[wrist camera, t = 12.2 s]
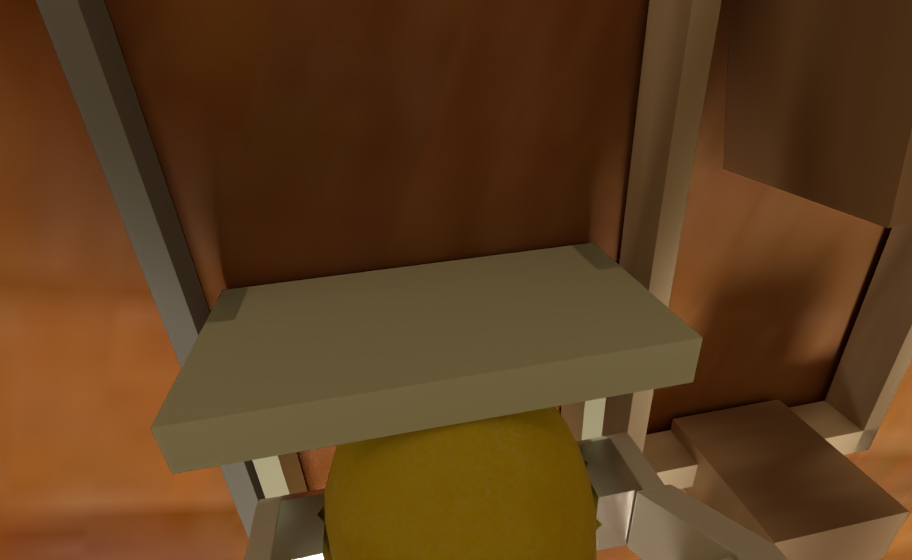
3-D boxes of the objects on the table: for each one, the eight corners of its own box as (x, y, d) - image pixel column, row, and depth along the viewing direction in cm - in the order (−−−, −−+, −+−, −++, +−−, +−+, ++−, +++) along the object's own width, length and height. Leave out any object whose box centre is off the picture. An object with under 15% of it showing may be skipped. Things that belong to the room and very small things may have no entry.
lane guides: (1175, -344, 9) (1260, -384, 8) (856, 399, 18) (882, 418, 17) (-90, -423, 6) (-162, -495, 5) (257, 514, 15) (251, 544, 14)
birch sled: (1096, -235, 10) (1605, -421, 6) (826, 428, 18) (959, 539, 14) (677, -244, 8) (961, -491, 4) (595, 474, 17) (669, 610, 13)
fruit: (315, 311, 12) (260, 687, 5) (525, 280, 13) (728, 571, 6) (351, 465, 15) (348, 856, 8) (525, 432, 15) (665, 761, 8)
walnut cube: (916, -82, 11) (1244, -151, 7) (877, 121, 13) (1109, 160, 9) (729, -32, 10) (957, -72, 6) (721, 167, 13) (888, 228, 9)
